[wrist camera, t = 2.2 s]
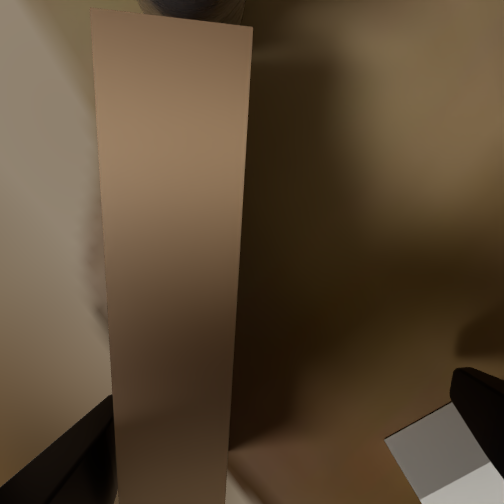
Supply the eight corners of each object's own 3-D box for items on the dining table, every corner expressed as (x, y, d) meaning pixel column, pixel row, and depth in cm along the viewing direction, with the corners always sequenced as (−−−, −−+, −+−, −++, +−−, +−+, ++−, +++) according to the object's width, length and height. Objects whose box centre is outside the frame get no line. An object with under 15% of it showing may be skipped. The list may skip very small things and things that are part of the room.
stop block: (489, 453, 11) (544, 511, 9) (416, 492, 12) (455, 557, 10) (462, 396, 11) (516, 447, 9) (383, 439, 11) (419, 499, 9)
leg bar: (142, 70, 7) (89, 7, 4) (239, 80, 7) (252, 26, 4) (151, 457, 10) (123, 576, 7) (220, 455, 10) (221, 569, 7)
